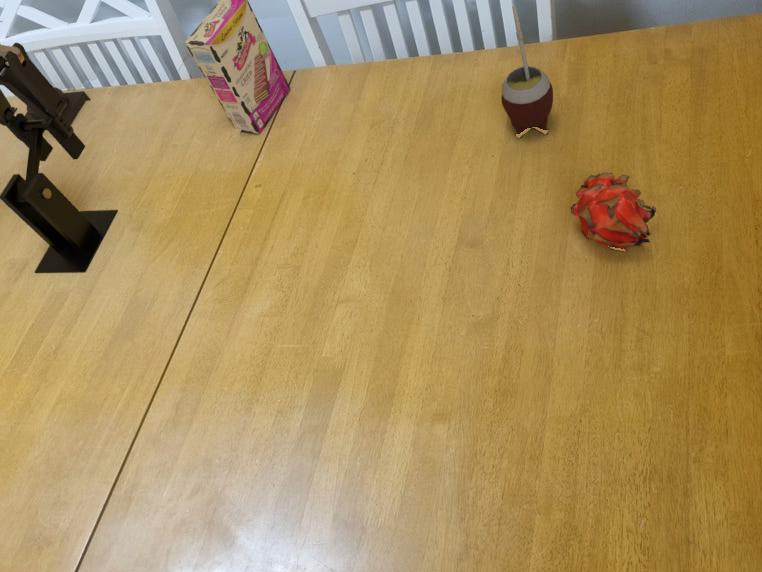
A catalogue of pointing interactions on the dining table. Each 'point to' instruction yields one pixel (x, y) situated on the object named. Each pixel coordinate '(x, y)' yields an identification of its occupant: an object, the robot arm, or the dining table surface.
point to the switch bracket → (59, 225)
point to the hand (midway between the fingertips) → (63, 153)
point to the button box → (70, 111)
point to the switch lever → (31, 156)
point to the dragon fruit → (612, 212)
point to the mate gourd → (526, 92)
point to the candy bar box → (239, 64)
